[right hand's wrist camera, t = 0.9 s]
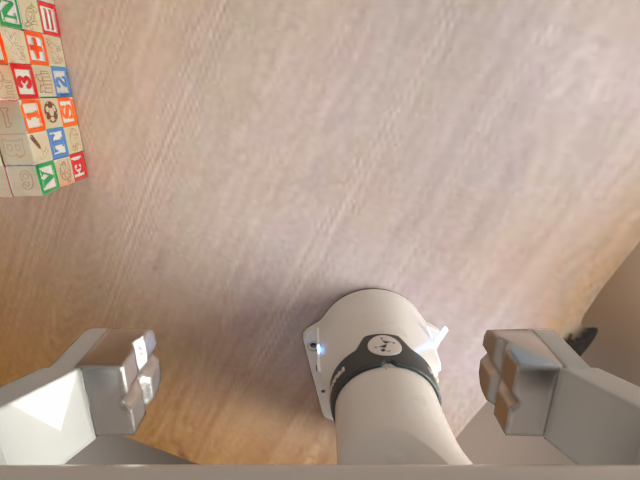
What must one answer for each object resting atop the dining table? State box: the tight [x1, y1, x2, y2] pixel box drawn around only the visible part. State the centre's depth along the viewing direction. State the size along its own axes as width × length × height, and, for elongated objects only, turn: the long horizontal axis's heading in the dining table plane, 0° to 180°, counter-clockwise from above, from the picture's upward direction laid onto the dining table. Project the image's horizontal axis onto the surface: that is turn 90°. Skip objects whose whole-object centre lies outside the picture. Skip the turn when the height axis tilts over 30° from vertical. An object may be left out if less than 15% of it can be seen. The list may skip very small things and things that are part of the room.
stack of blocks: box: [0, 0, 88, 197], centre depth 41 cm, size 21×6×12 cm, turn 1°
